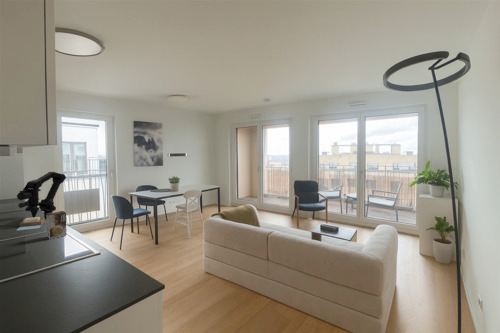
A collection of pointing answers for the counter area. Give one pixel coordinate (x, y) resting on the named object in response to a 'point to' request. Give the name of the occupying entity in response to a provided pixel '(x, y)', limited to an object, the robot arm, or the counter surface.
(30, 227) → the mat
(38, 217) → the tile
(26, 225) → the plate
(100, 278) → the counter surface
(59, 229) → the coffee box
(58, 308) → the counter surface
